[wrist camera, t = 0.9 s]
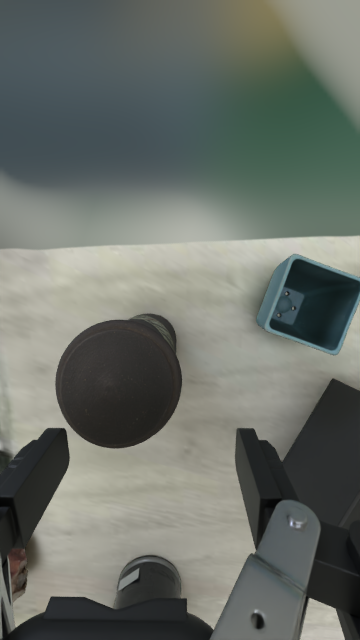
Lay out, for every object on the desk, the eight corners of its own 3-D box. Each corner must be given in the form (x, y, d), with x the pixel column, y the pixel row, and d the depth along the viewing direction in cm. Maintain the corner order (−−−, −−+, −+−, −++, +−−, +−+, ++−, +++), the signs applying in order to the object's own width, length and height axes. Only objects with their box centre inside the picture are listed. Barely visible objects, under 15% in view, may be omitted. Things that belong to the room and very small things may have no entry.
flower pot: (241, 323, 37) (263, 330, 28) (263, 264, 36) (292, 251, 27) (298, 343, 37) (338, 357, 28) (321, 285, 36) (368, 280, 28)
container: (190, 335, 37) (209, 373, 17) (153, 385, 37) (128, 482, 17) (140, 299, 36) (98, 293, 16) (103, 350, 36) (17, 408, 16)
